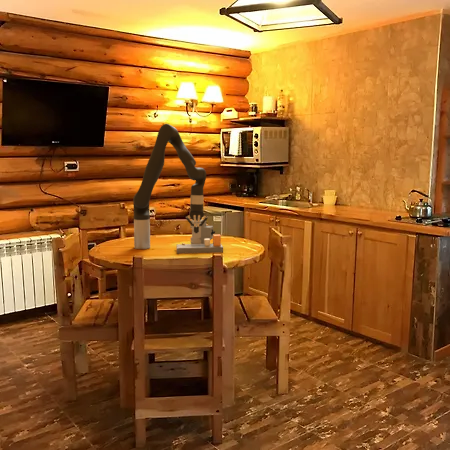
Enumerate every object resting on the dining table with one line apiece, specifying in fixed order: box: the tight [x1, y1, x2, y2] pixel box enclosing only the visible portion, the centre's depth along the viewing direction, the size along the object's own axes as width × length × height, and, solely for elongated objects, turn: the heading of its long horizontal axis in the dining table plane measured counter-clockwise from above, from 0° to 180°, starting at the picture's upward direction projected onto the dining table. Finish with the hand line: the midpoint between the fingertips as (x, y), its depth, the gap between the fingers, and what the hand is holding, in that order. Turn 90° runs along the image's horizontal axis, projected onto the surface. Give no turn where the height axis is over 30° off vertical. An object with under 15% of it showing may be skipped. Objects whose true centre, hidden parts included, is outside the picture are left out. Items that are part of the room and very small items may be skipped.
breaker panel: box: [176, 242, 224, 254], centre depth 294 cm, size 26×12×4 cm, turn 97°
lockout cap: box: [212, 234, 222, 246], centre depth 295 cm, size 4×4×6 cm
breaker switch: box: [204, 238, 211, 246], centre depth 295 cm, size 3×4×4 cm
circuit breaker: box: [189, 219, 216, 244], centre depth 314 cm, size 8×14×15 cm, turn 78°
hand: (196, 233), depth 292 cm, fingers closed
